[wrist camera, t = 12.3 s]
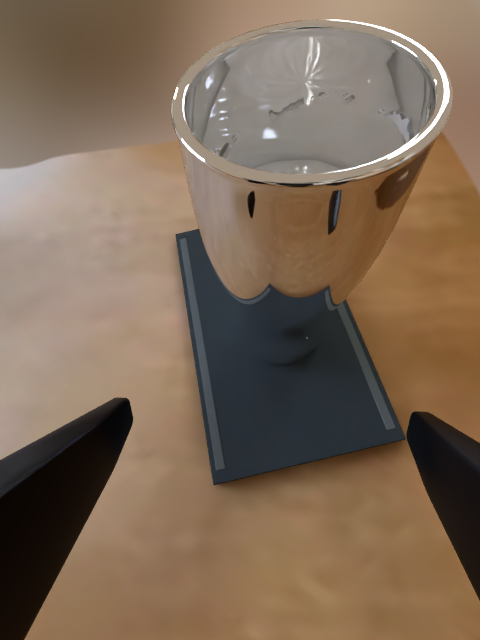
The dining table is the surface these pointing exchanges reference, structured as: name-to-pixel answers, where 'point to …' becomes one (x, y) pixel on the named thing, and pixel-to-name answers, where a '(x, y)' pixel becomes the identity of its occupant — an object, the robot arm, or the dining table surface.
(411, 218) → the dining table surface
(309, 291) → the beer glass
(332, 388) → the mat
